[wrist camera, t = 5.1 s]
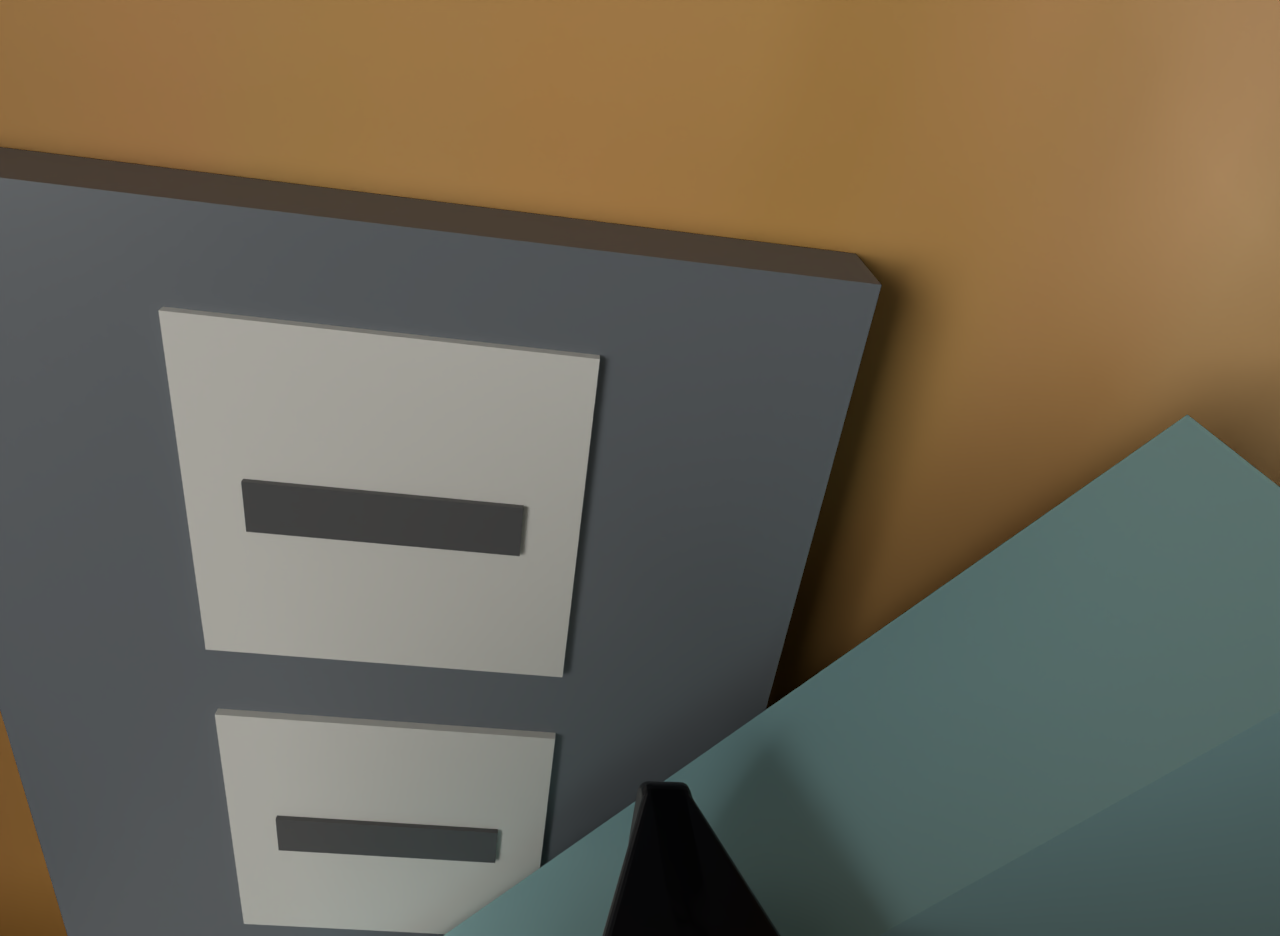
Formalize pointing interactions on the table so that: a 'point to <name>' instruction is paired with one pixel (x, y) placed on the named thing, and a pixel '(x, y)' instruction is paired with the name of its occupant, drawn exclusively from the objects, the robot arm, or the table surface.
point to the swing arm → (1017, 739)
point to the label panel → (382, 532)
